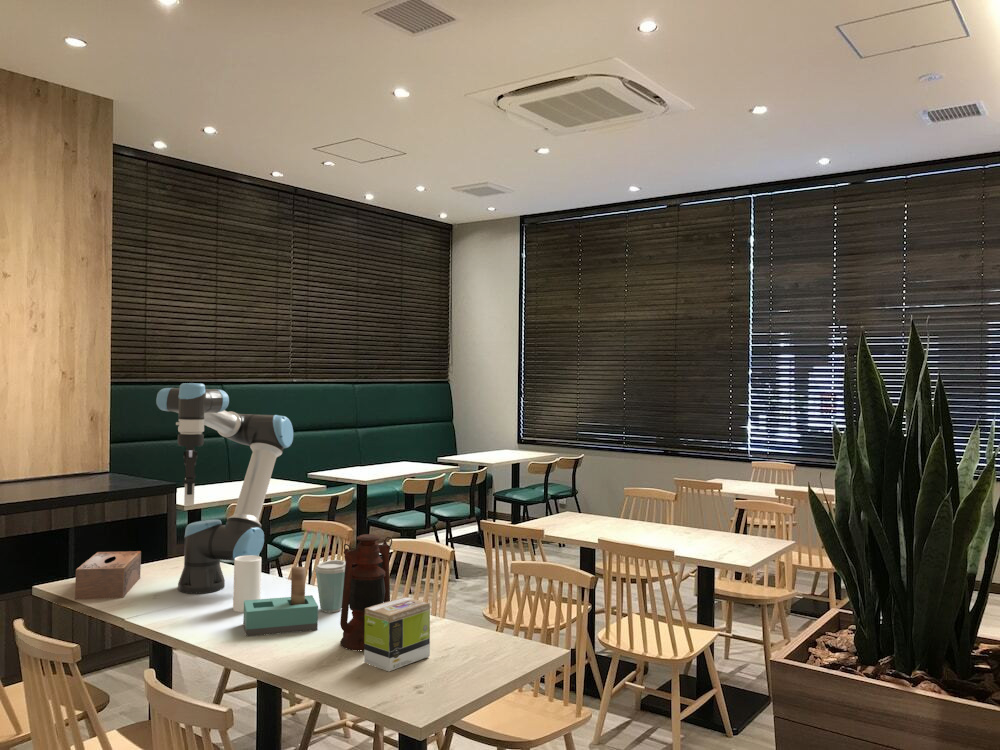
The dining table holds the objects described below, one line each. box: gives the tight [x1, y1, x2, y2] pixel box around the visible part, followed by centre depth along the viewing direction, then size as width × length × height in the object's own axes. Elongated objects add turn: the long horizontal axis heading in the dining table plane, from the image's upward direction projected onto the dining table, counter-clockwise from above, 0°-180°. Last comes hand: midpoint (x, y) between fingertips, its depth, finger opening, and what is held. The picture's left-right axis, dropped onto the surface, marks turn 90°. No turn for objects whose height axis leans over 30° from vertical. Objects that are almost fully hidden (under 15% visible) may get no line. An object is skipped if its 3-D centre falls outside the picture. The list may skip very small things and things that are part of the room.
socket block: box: [242, 594, 319, 637], centre depth 232 cm, size 12×20×7 cm, turn 112°
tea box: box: [363, 596, 431, 672], centre depth 207 cm, size 15×10×15 cm
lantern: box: [339, 533, 393, 652], centre depth 220 cm, size 17×14×30 cm
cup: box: [232, 555, 262, 613], centre depth 249 cm, size 8×8×16 cm
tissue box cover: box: [74, 550, 142, 601], centre depth 268 cm, size 26×14×10 cm, turn 13°
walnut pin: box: [290, 566, 307, 605], centre depth 234 cm, size 4×4×15 cm
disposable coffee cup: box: [314, 559, 346, 613], centre depth 250 cm, size 11×11×15 cm
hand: (189, 501), depth 242 cm, fingers open, 13 cm apart
